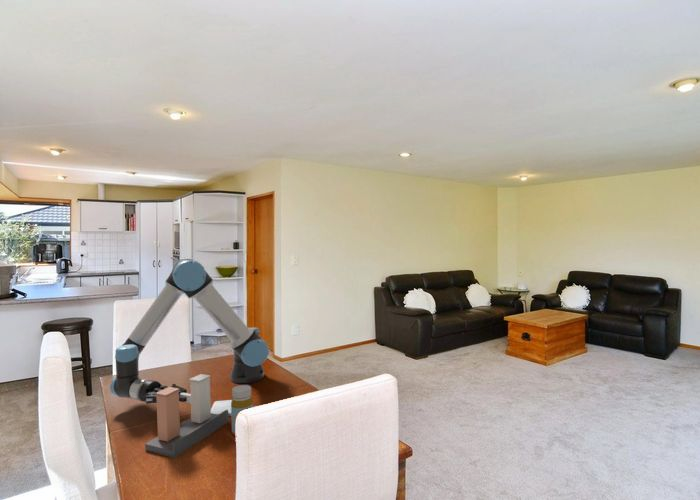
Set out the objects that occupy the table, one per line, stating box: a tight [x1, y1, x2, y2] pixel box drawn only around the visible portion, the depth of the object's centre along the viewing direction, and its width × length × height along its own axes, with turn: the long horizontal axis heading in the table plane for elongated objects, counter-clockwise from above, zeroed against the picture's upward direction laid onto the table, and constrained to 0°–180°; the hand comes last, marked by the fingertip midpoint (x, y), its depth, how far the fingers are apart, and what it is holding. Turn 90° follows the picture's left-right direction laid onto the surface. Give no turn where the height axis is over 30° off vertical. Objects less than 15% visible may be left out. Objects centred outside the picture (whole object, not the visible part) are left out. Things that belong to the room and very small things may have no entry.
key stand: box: [144, 410, 229, 459], centre depth 130 cm, size 24×12×4 cm, turn 158°
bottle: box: [230, 384, 254, 437], centre depth 131 cm, size 7×7×15 cm
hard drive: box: [211, 399, 232, 417], centre depth 149 cm, size 2×8×12 cm
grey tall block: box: [188, 373, 212, 423], centre depth 136 cm, size 5×4×15 cm
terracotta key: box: [155, 386, 181, 442], centre depth 124 cm, size 5×4×15 cm
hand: (195, 399), depth 137 cm, fingers closed
